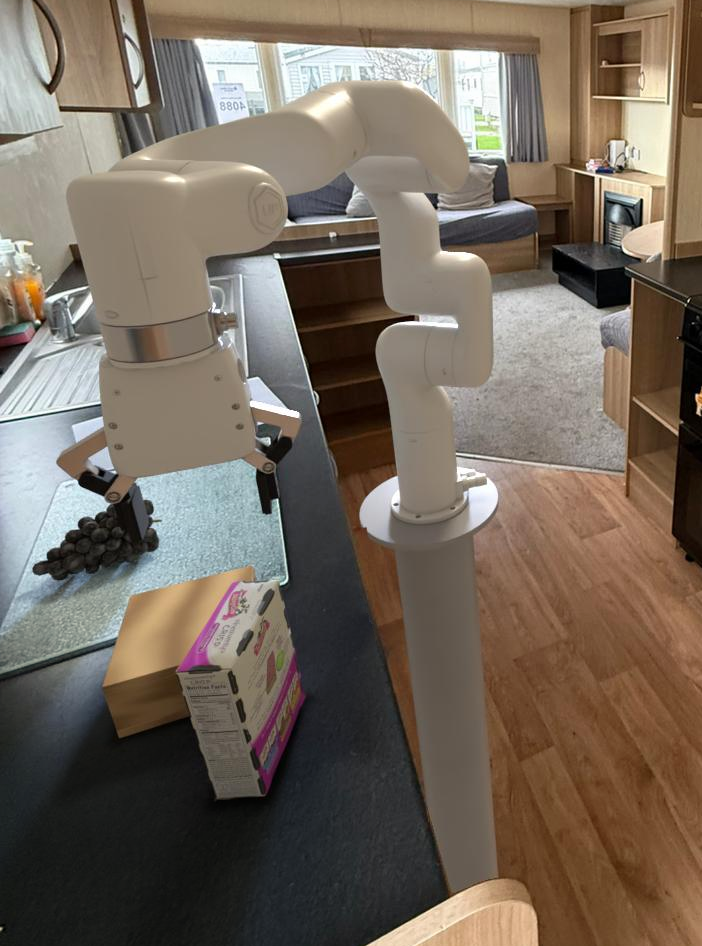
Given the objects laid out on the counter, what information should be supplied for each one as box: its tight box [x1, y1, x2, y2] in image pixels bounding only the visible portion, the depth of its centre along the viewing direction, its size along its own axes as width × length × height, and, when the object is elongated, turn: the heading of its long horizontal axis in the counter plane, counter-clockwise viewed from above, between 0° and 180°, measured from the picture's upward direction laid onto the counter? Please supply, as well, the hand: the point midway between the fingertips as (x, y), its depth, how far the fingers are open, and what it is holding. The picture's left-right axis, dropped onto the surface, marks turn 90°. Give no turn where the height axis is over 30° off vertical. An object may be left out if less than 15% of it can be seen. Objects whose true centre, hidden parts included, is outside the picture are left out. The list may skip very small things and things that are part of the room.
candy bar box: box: [176, 579, 306, 800], centre depth 63 cm, size 11×5×16 cm, turn 5°
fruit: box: [31, 499, 163, 582], centre depth 91 cm, size 9×8×15 cm
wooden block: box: [101, 564, 258, 739], centre depth 74 cm, size 13×14×7 cm
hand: (206, 519), depth 56 cm, fingers open, 9 cm apart
